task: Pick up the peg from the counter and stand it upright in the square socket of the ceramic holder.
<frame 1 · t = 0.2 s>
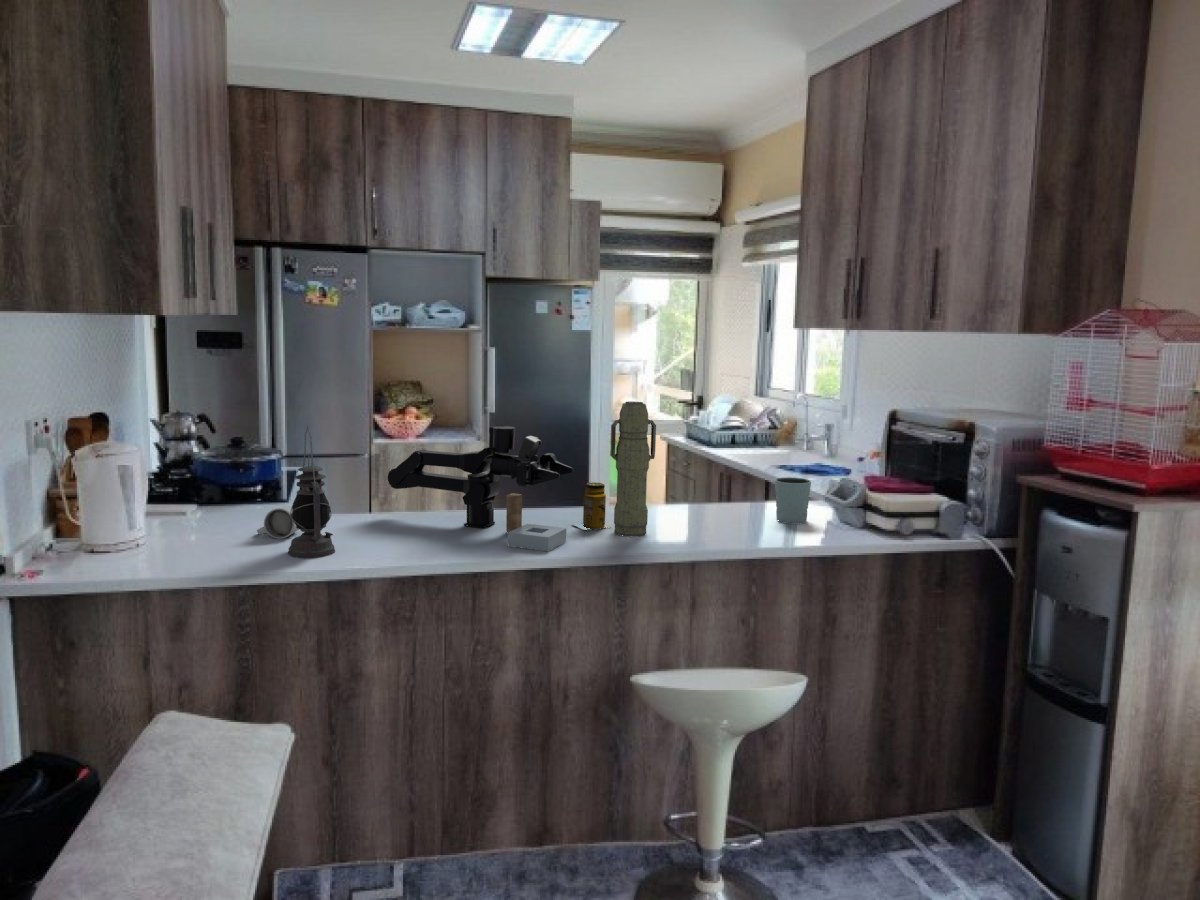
hand: (566, 472, 227), 16 cm above the countertop, tool horizontal, fingers open, 9 cm apart
ceramic mug: (279, 536, 221), on the countertop
grey cup: (790, 521, 253), on the countertop
condiment: (590, 527, 239), on the countertop
lantern: (311, 553, 205), on the countertop
peg: (513, 532, 231), on the countertop
thermos: (629, 533, 233), on the countertop
holder: (537, 543, 219), on the countertop
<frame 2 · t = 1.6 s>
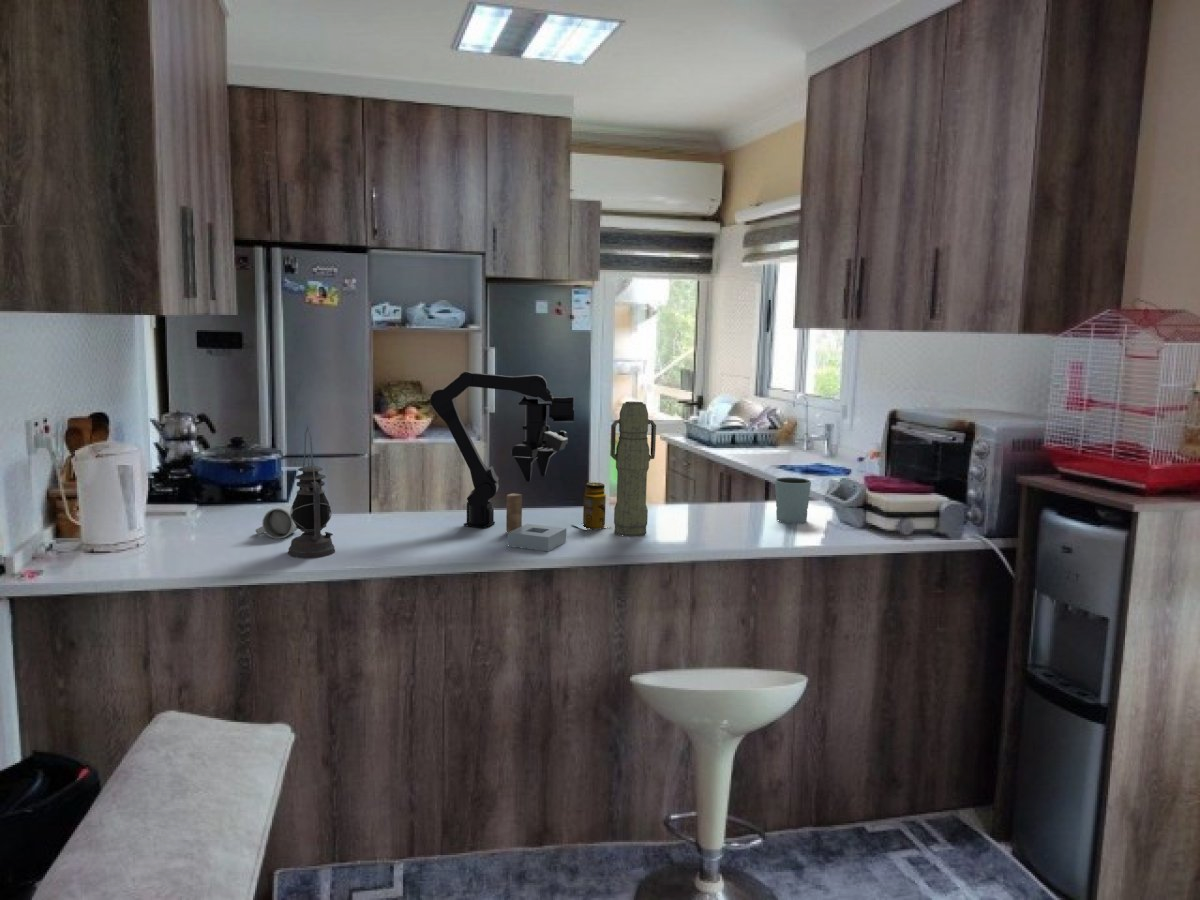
hand: (535, 478, 236), 13 cm above the countertop, tool pointing down, fingers open, 9 cm apart
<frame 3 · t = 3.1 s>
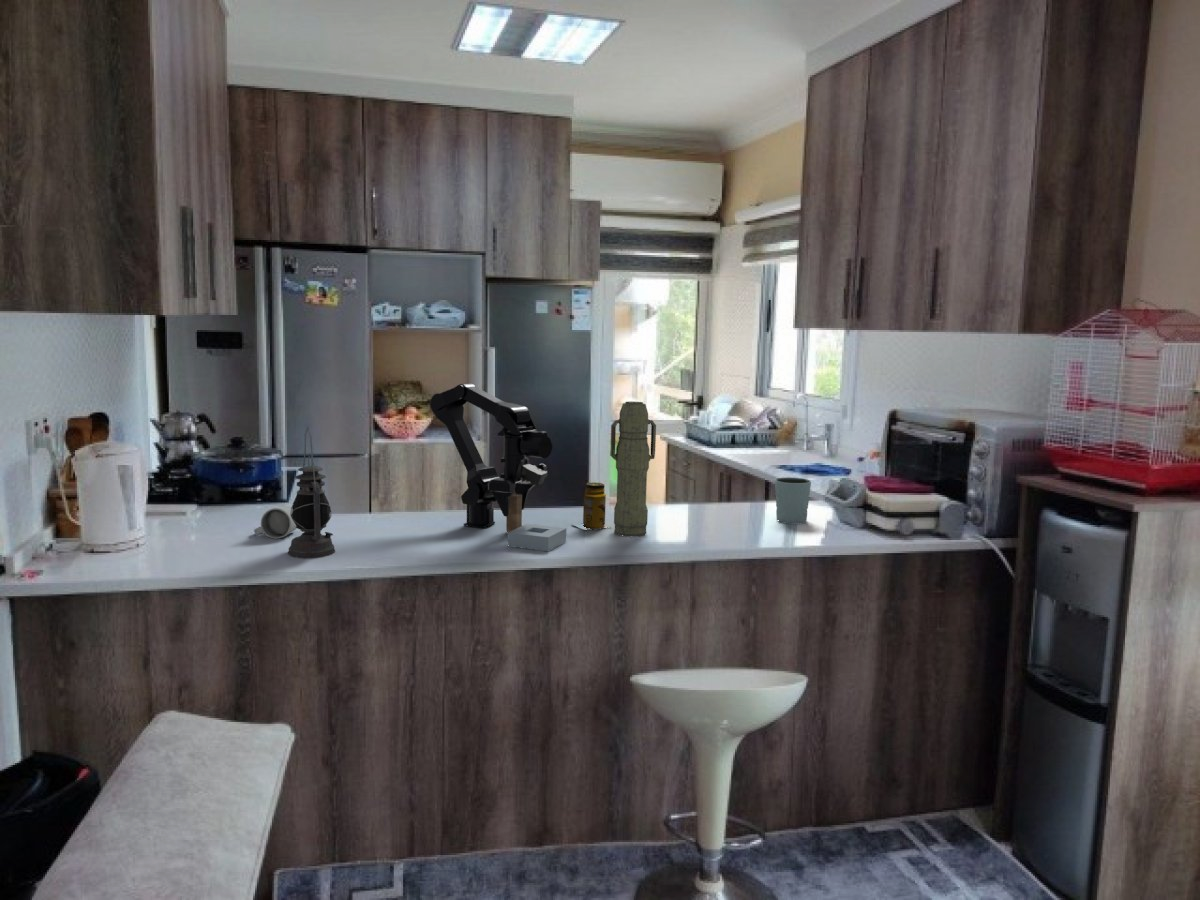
hand: (513, 512, 230), 5 cm above the countertop, tool pointing down, fingers open, 9 cm apart
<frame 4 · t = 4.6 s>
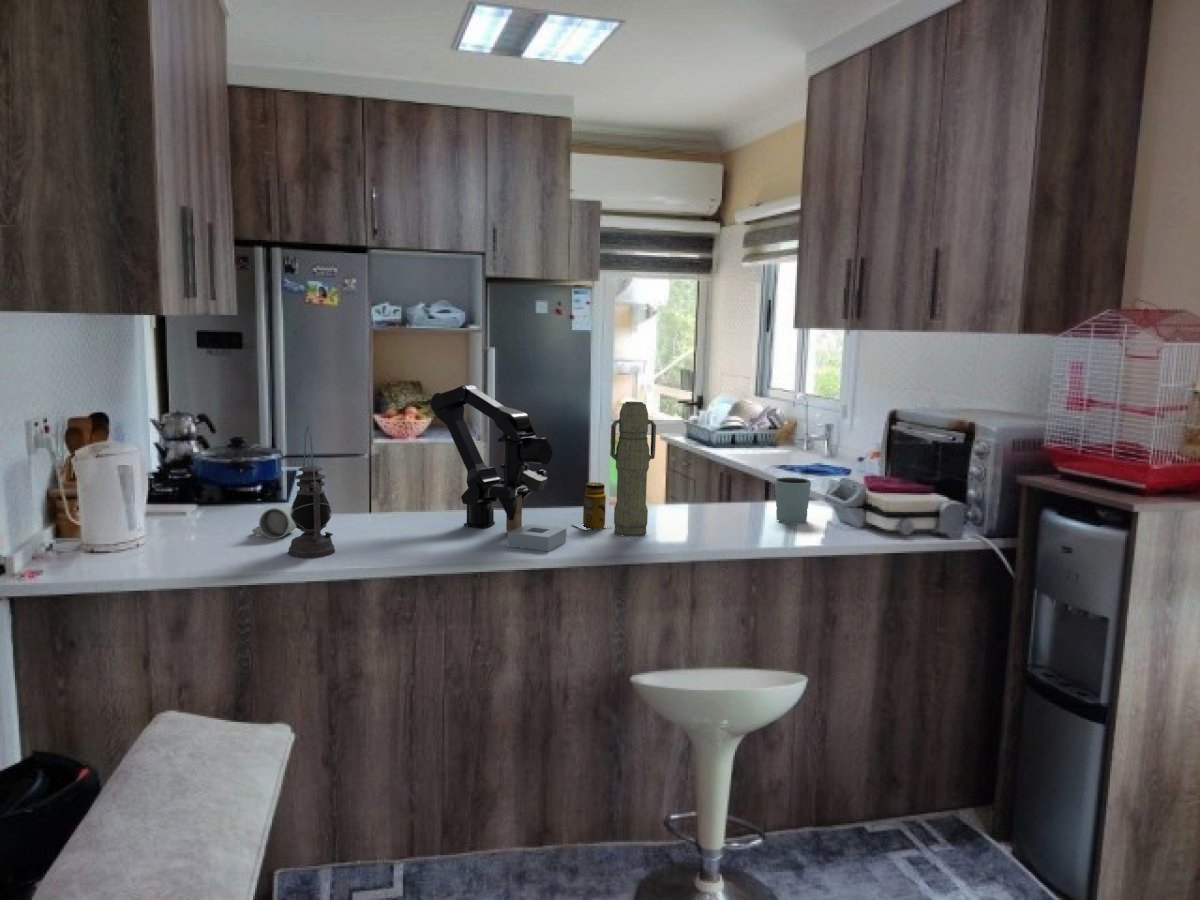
hand: (514, 518, 230), 4 cm above the countertop, tool pointing down, fingers closed on peg, 3 cm apart
peg: (513, 532, 231), on the countertop, touching gripper
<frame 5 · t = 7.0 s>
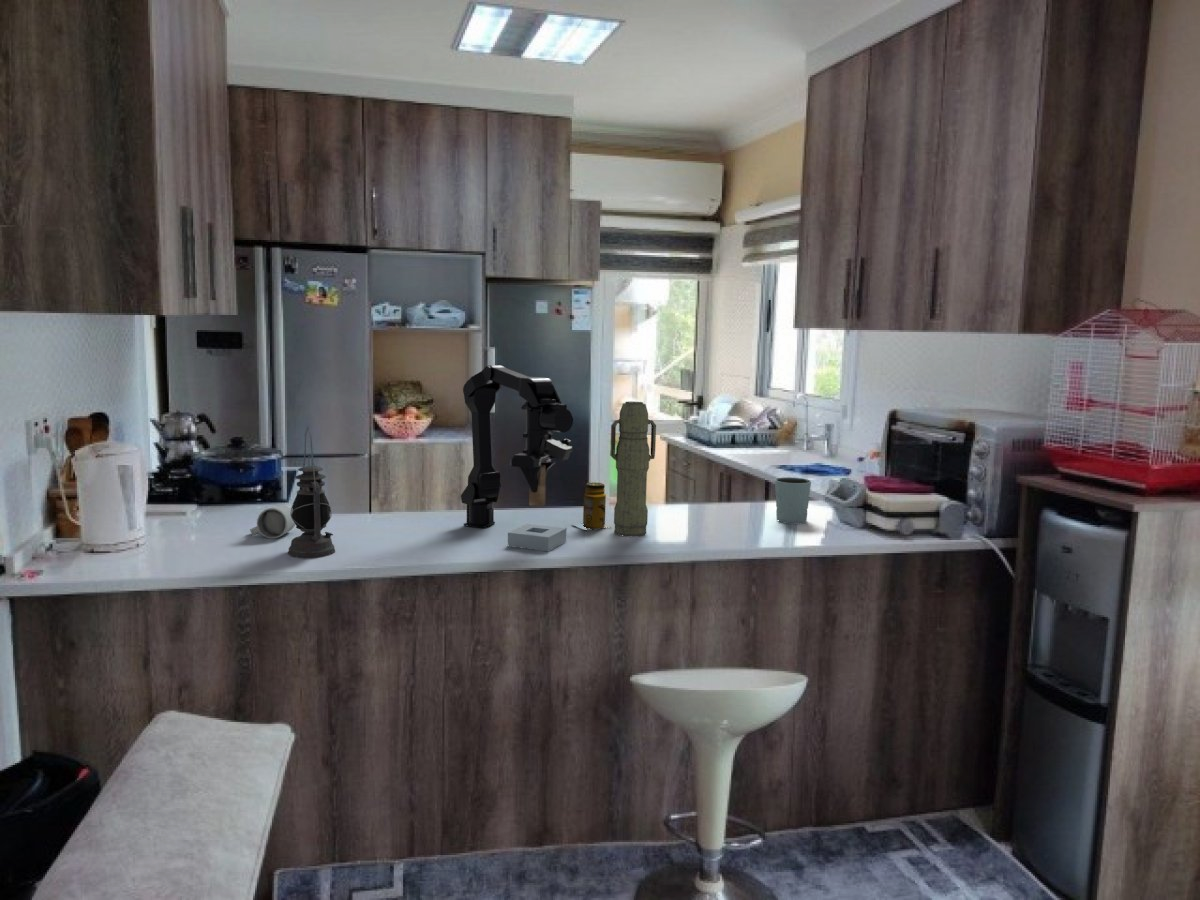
hand: (537, 491, 217), 13 cm above the countertop, tool pointing down, fingers closed on peg, 3 cm apart
peg: (537, 505, 218), point 10 cm above the countertop, touching gripper
when the fingers open (4 cm above the countertop, at t = 9.4 s): peg drops 1 cm, resting in holder.
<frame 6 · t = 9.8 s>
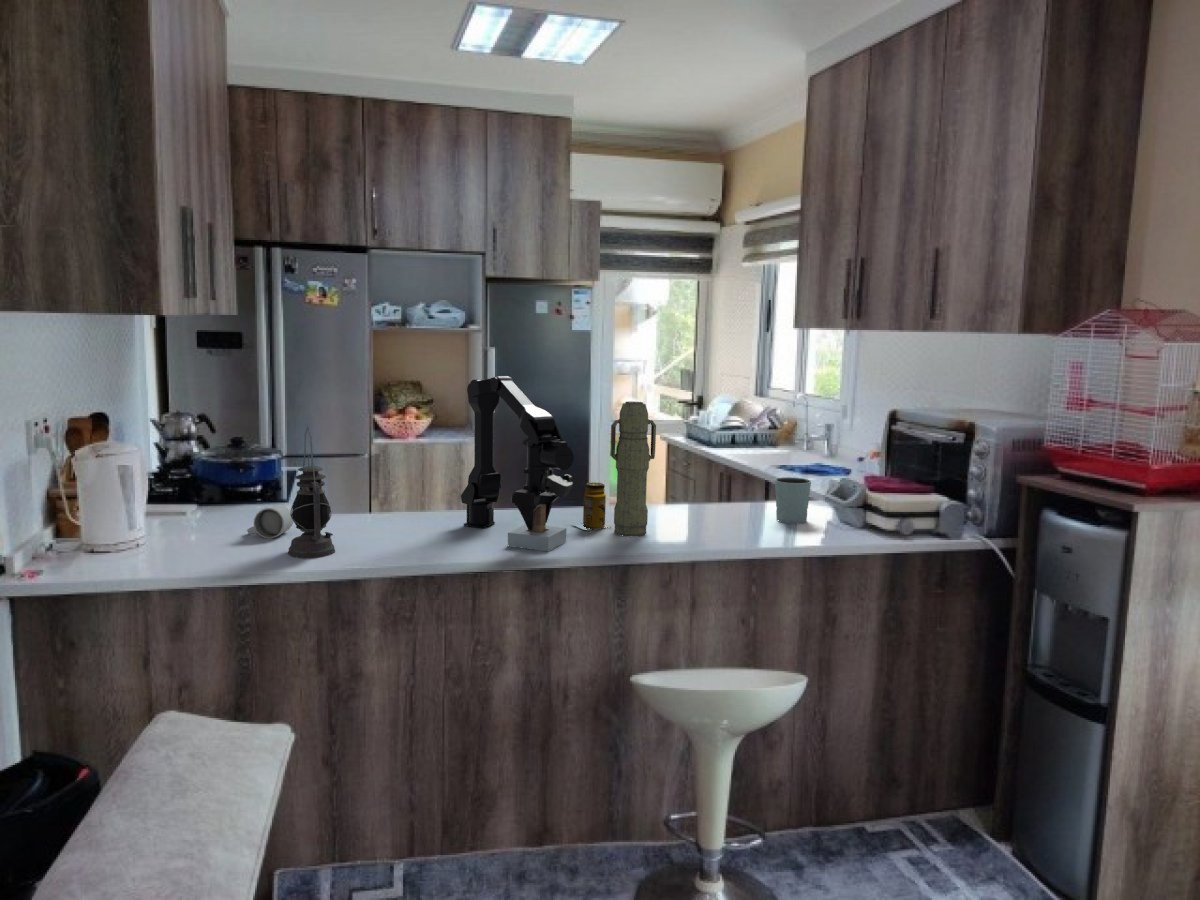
hand: (537, 526, 218), 4 cm above the countertop, tool pointing down, fingers open, 8 cm apart
peg: (537, 544, 219), resting in holder
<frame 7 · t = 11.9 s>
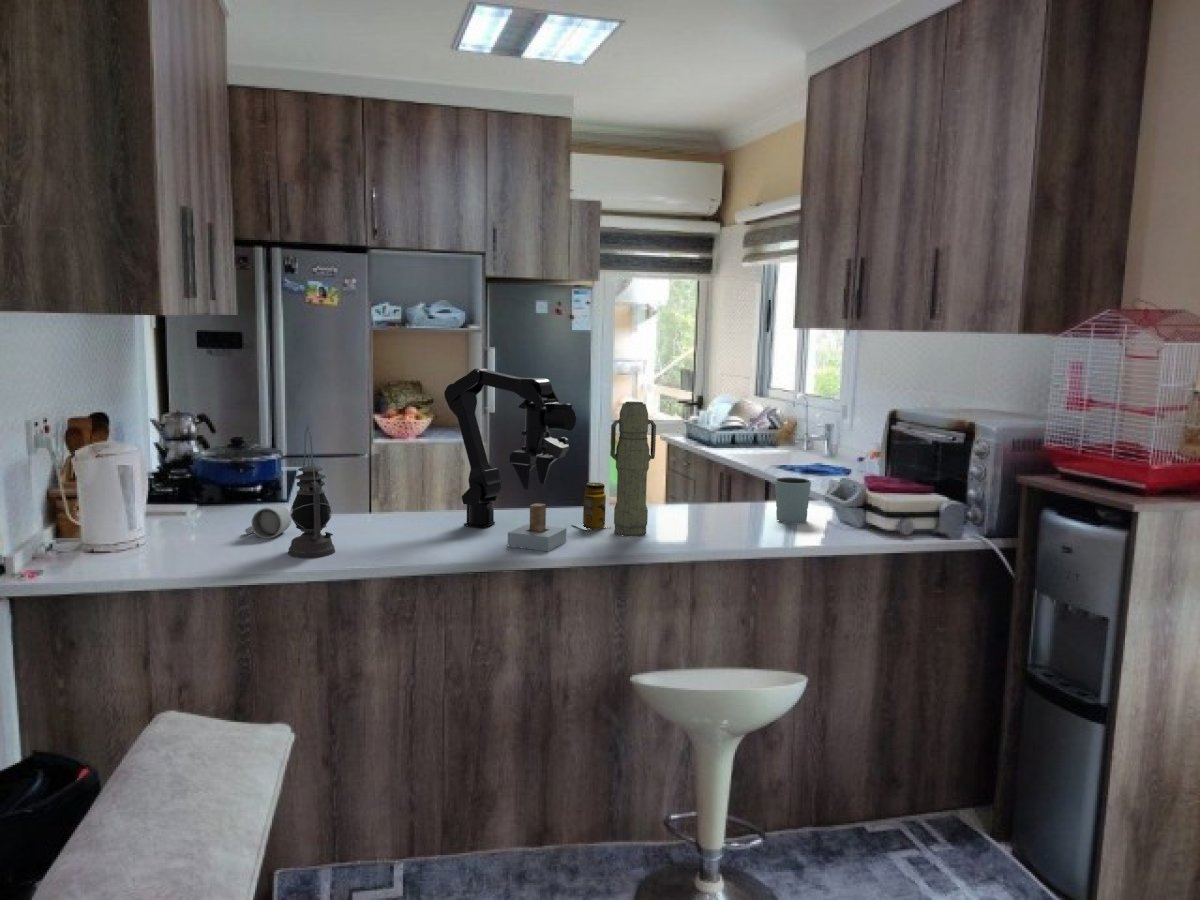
hand: (534, 486, 227), 13 cm above the countertop, tool pointing down, fingers open, 9 cm apart
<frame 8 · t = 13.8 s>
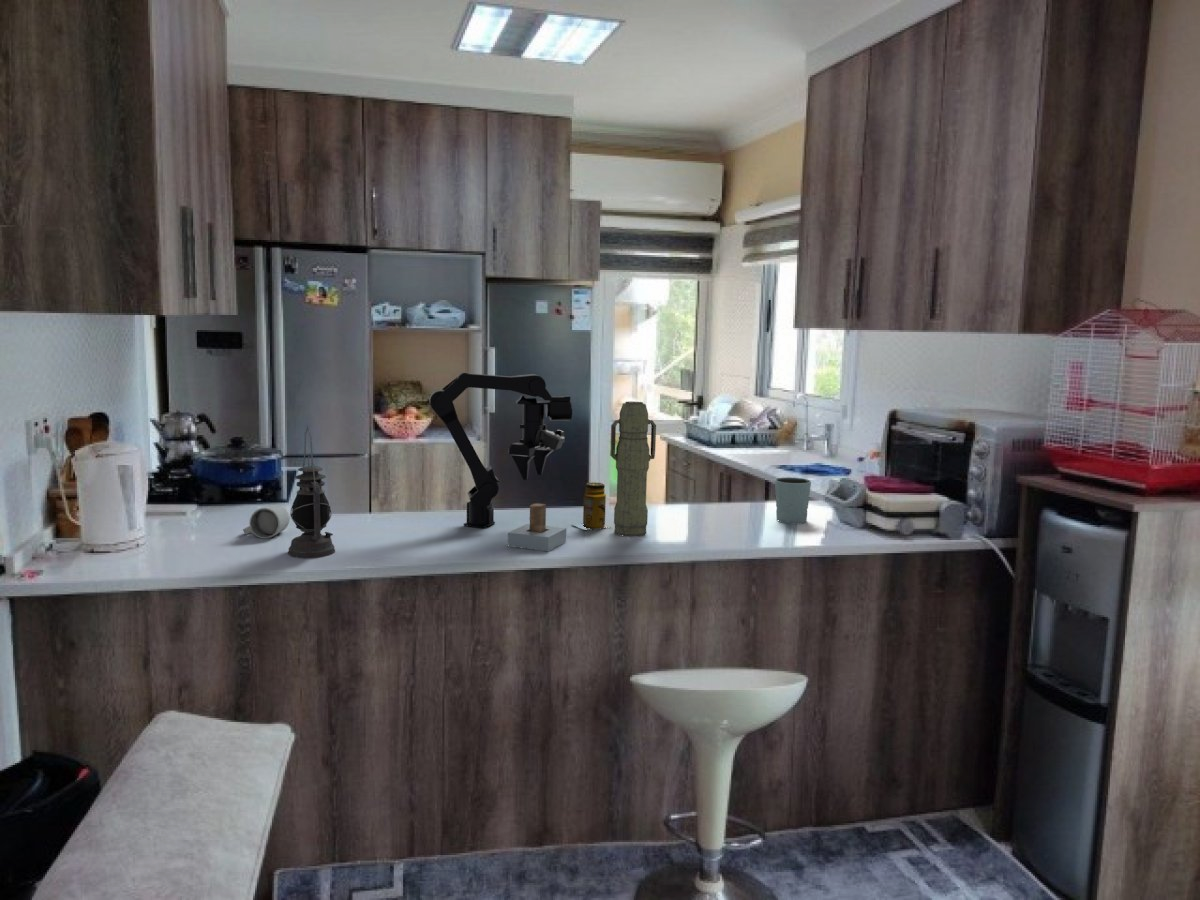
hand: (532, 477, 239), 13 cm above the countertop, tool pointing down, fingers open, 9 cm apart
at the end: peg 0.0 cm off-centre on the holder, point 0.0 cm above the holder's base; peg tilted 0°; the gripper is holding nothing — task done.
